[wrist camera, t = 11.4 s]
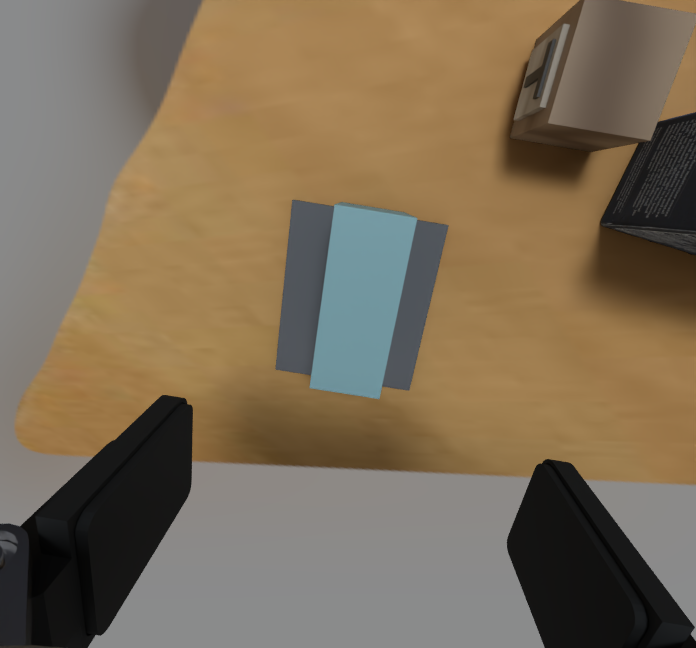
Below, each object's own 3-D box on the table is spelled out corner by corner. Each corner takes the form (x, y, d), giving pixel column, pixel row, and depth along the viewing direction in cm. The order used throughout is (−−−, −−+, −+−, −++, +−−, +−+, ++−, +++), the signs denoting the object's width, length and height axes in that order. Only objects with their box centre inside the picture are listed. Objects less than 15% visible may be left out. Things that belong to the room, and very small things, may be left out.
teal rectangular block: (404, 212, 23) (417, 218, 18) (375, 355, 27) (379, 398, 21) (341, 202, 23) (334, 204, 18) (320, 346, 27) (309, 388, 21)
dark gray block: (446, 224, 24) (448, 225, 24) (408, 387, 28) (409, 390, 28) (293, 199, 24) (292, 199, 23) (276, 366, 28) (275, 369, 27)
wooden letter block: (623, 55, 21) (699, 14, 16) (590, 152, 22) (650, 140, 18) (527, 38, 21) (576, -8, 16) (501, 137, 22) (538, 121, 18)
